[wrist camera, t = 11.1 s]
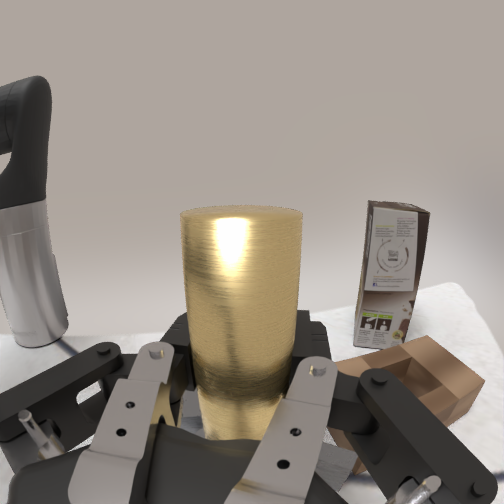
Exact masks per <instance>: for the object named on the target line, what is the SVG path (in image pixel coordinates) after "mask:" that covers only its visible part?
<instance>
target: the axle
mask: <svg viewBox="0 0 504 504" xmlns="http://www.w3.org/2000/svg"><path fill="white" fill-rule="evenodd" d="M302 215H303V214H302V212H300V211H297V210H294V209H289V208H282V207H273V206H255V205H232V206H214V207H213V206H212V207H203V208H196V209H191V210H187V211H184V212H182V213H181V214H180V219H181V220H180V221H181V239H182V240H181V242H182V257H183V272H184V285H185V296H186V307H187V317H188V326H189V335H190V344H191V352H192V359H193V367H194V374H195V380H196V387H197V393H198V400H199V406H200V411H201V417H202V423H203V428H204V433H205V438H206V439H208V440H233V439H253V440H262V438H263V436H264V434H265V432H266V430H267V427H268V425H269V423H270V421H271V419H272V417H273V415H274V412H275V410H276V408H277V406H278V404H279V401H280V400H281V398H285V397H286V395H287V393H288V387H289V378H290V369H291V360H292V350H293V347H294V340H295V329H296V317H297V305H298V291H299V276H300V260H301V241H302V217H303V216H302Z"/></svg>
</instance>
